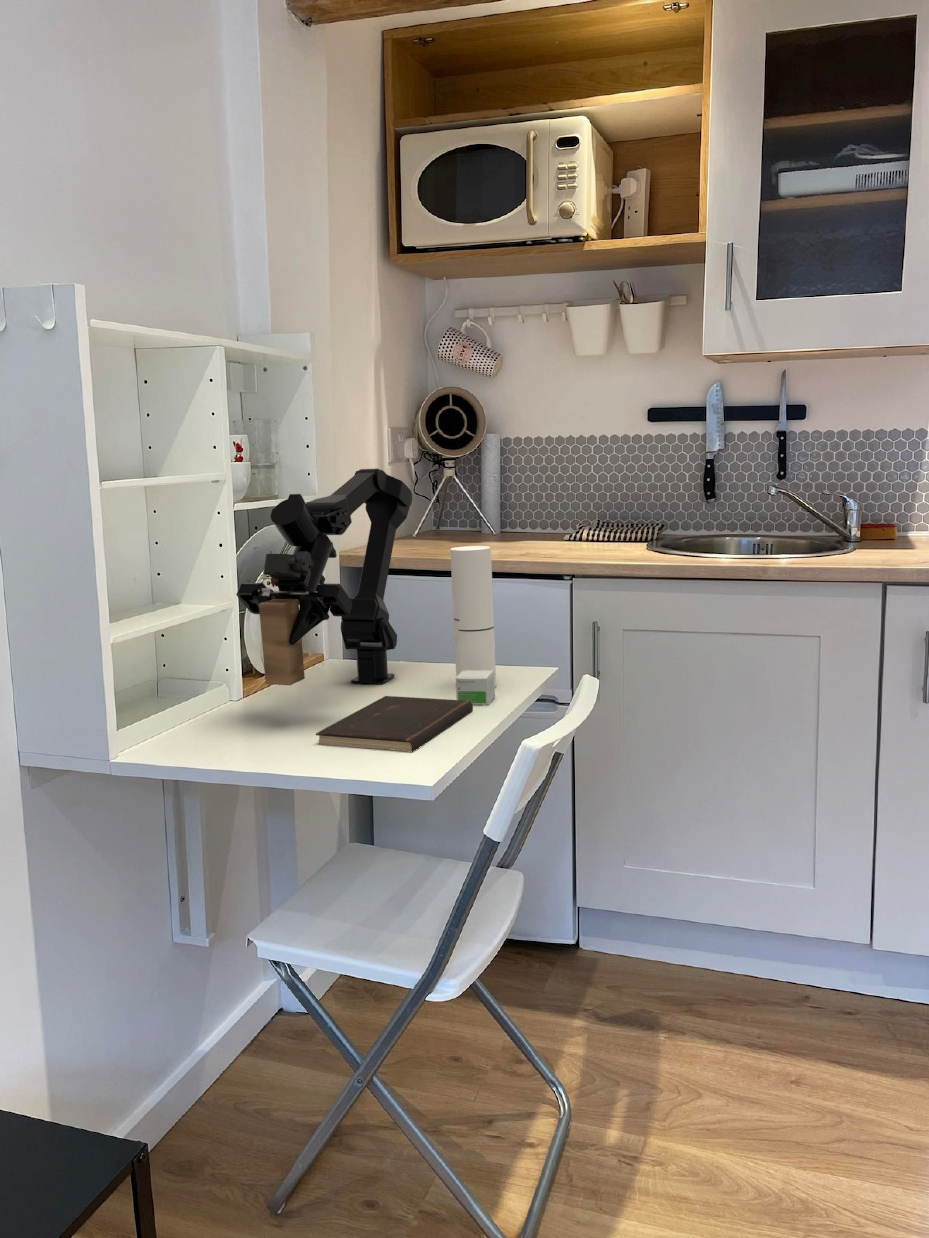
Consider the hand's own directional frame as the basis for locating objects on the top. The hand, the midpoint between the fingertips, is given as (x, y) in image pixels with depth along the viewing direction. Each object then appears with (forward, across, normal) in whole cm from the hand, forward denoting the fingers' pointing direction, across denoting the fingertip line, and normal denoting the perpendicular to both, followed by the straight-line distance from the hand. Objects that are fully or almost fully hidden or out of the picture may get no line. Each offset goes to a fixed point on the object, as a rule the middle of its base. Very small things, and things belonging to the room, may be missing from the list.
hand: (277, 642), depth 162 cm
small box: (-5, +25, +25) cm, 35 cm away
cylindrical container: (-12, +21, +32) cm, 40 cm away
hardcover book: (+8, +19, +13) cm, 24 cm away
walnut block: (+4, 0, +6) cm, 7 cm away
